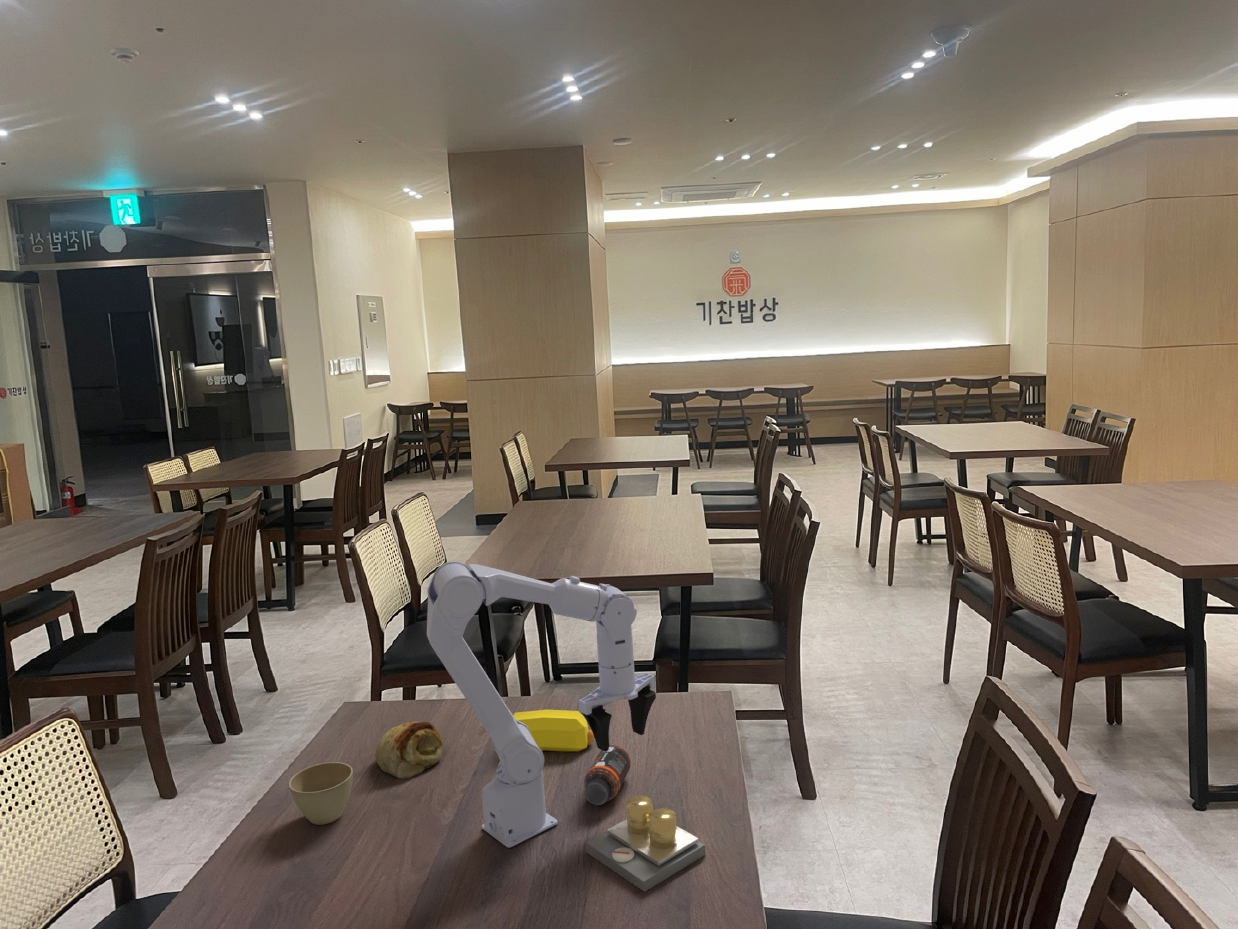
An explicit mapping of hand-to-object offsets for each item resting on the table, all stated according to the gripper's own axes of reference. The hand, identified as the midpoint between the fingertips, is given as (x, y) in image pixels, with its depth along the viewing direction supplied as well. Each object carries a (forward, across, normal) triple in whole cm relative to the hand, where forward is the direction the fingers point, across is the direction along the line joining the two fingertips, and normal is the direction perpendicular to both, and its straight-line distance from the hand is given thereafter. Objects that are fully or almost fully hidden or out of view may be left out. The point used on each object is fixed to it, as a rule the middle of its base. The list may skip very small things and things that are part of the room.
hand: (621, 740), depth 142 cm
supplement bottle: (+8, +4, +7) cm, 11 cm away
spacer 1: (+8, -6, -11) cm, 15 cm away
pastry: (+11, -19, +39) cm, 45 cm away
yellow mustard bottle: (+11, +2, +25) cm, 27 cm away
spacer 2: (+8, -6, -16) cm, 19 cm away
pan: (+9, -6, -13) cm, 17 cm away
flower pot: (+11, -38, +32) cm, 51 cm away
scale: (+10, -8, -14) cm, 19 cm away
